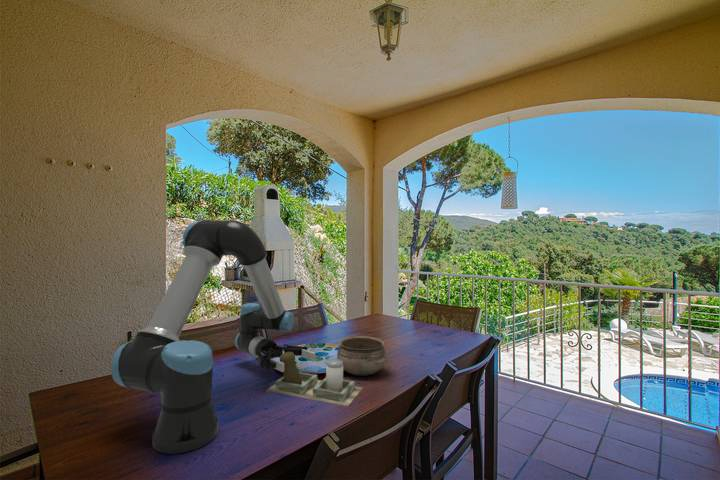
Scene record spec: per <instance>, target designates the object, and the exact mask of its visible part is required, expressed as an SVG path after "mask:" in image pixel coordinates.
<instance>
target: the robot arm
mask: <svg viewBox="0 0 720 480" xmlns="http://www.w3.org/2000/svg"><path fill="white" fill-rule="evenodd" d="M182 239H183V240H182V246H183V253H184V255H185V257H184V259H183V261H182V262H181V264H180V266H179V268H178V270H177V271H176V273H175V275H174V277H173V279H172V281H171V282H170V284H169V286H168V288H167V289H166V292H165V294H164V296H163V297H162V299H161V301H160V303H159V305H158V306H157V309H156V310H155V313H154V314H153V316H152V317H151V320H150V321H149V323H148V325H147V327H145V328H143V329H140V330H138V331H137V333H136V334H135V336H134V338H133V340H131V341H128V342H125V343H124V344H122V345H121V346H119V347H118V348H117V349H116V351H115V352H114V354H113V355H112V359H111V363H110V373H111V377H112V379H113V381H114V382H115V383H116V384H118V386H120V387H125V388H126V389H130V390H133V391H134V390H139V391H143V392H148V393H155V394H160V396H161V402H160V413H159V415H158V419H157V421H156V427H155V428H154V430H153V432H152V439H151V446H152V448H153V449H154V450H155V451H156V452H158V453H161V454H166V455H167V454H168V455H174V454H175V455H177V454H183V453H188V452H191V451H194V450H197V449H199V448H202V447H204V446H206V445H208V444H209V443H210V442H211V441H213V440H214V439H215V438H216V437H217V435H218V433H219V418H218V417H217V415H216V411H215V407H214V405H213V401H212V400H213V397H212V395H213V372H214V371H213V370H214V369H213V367H214V359H213V350H212V348H211V346H210V345H208V344H207V343H206V342H202V341H199V340H192V339H191V340H186V339H185V340H183V339H182V340H180V338H179V337H180V334H181V333H182V331H183V329H184V327H185V325H186V322H187V320H188V318H189V316H190V314H191V312H192V310H193V308H194V306H195V303H196V301H197V299H198V297H199V296H200V293H201V292H202V289H203V287H204V285H205V282H206V281H207V278H208V277H209V274H210V272H211V270H212V268H213V267H215V266H218V265H220V263H221V261H222V259H223V257H224V256H232V257H235V258H236V259H237V262H238V264H239V265H240V266H242V267H243V268H244V270H245V272H246V274H247V277H248V279H249V282H250V285H251V286H252V288H253V291H254V294H255V295H256V298H257V300H258V302H259V303H258V302H250V303H249V302H248V303H244V304H243V303H242V305H241V306H240V315H239V332H238V334H237V335H236V336H235V339H234V346H235V348H236V349H238V350H239V351H240V352H243V353H246V354H247V355H248V354H249V355H250V356H254V358H255V360H256V361H257V362H258V365H259V369H264V368H265V370H270V369H274V370H277V371H279V372H281V373H283V372H284V363H282V362H280V360H277V359H275V358H280V356H281V355H282V354H283V353H286V352H293V353H294V355H295V357H296V356H297V357H301V358H303V359H306V360H308V361H312V362H316V353H315V352H313V351H310V350H308V347H307V346H304V345H303V346H301V345H290V344H283V346H281V345H277V343H276V342H275V340H273V339H269V338H266V337H263V336H260V330H266V331H273V332H287V333H288V332H290V331H291V330H292V329H293V327H294V325H295V315H294V314H293V313H292V312H291V311H286V310H285V307H284V304H283V303H282V299H281V296H280V293H279V292H278V289H277V286H276V283H275V280H274V278H273V275H272V273H271V269H270V267H269V264H268V261H267V255H268V253H267V250H266V247H265V245H264V243H263V241H262V239H261V238H260V236H259V235H258V234H257V233H256V231H254V229H253V228H252V227H250V226H249V225H248V224H246V223H245V222H242V221H240V220H235V219H234V220H233V219H230V220H229V219H228V220H227V219H226V220H225V219H223V220H221V219H218V220H217V219H216V220H215V219H201V220H196V221H192V222H191V223H190V224H189V225H188V226H187V227H186V228H185V230H184V232H183V235H182Z"/></svg>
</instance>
